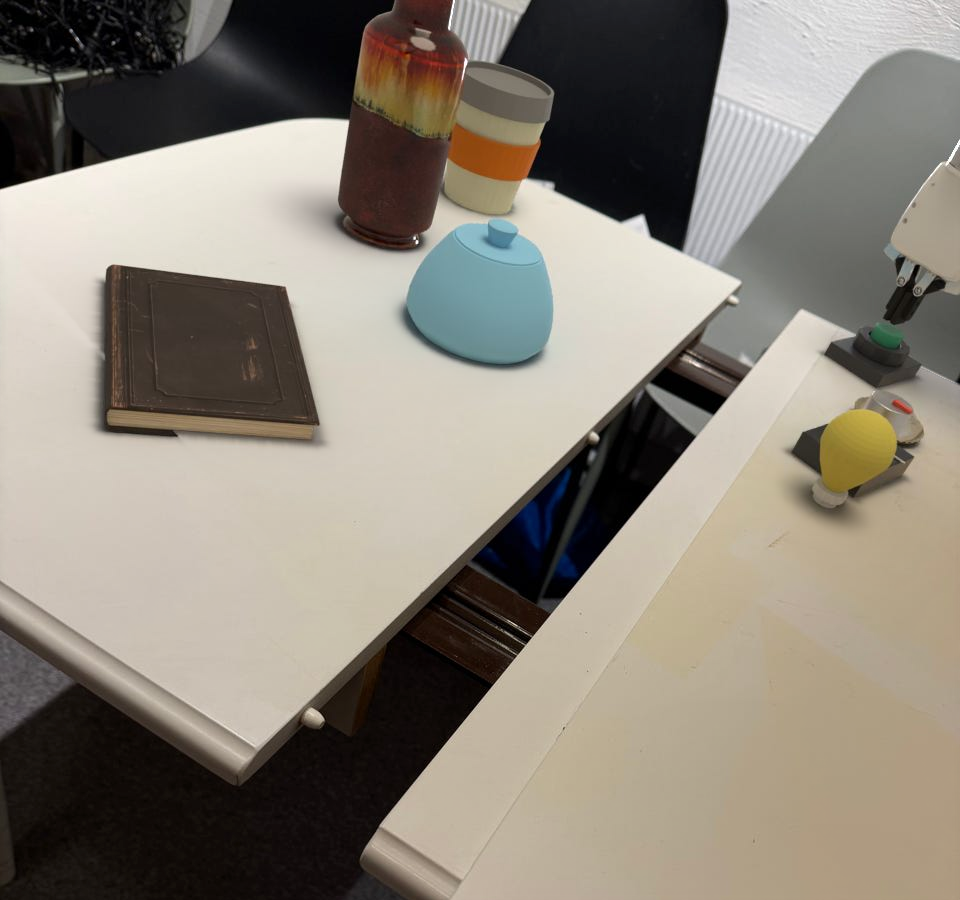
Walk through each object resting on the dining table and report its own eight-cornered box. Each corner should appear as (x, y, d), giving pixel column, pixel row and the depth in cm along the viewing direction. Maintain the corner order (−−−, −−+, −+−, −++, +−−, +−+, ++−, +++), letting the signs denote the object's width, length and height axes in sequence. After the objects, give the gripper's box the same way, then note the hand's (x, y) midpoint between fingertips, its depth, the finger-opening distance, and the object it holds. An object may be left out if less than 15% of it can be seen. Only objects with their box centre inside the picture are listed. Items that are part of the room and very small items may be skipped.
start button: (878, 333, 121) (885, 320, 120) (902, 348, 120) (909, 335, 118) (864, 337, 119) (871, 323, 118) (887, 352, 117) (895, 338, 116)
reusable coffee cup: (424, 174, 131) (449, 51, 121) (511, 192, 134) (543, 74, 124) (437, 212, 122) (466, 83, 112) (531, 231, 126) (567, 107, 116)
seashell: (839, 441, 109) (913, 459, 106) (846, 417, 106) (921, 435, 103) (860, 405, 114) (930, 422, 111) (866, 382, 111) (938, 399, 108)
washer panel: (842, 434, 106) (857, 409, 104) (907, 479, 102) (924, 454, 100) (786, 454, 99) (801, 428, 97) (853, 502, 95) (870, 476, 93)
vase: (340, 205, 116) (381, -53, 98) (430, 230, 117) (486, -19, 100) (326, 240, 108) (368, -34, 90) (423, 266, 109) (482, 2, 92)
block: (862, 347, 126) (878, 319, 124) (912, 379, 123) (930, 351, 120) (822, 357, 120) (838, 328, 118) (874, 391, 117) (891, 361, 114)
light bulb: (863, 532, 92) (922, 443, 85) (799, 517, 90) (853, 426, 84) (843, 491, 97) (897, 404, 90) (782, 477, 95) (832, 388, 89)
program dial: (841, 431, 99) (865, 390, 96) (863, 424, 102) (888, 384, 99) (875, 455, 97) (901, 414, 94) (897, 448, 100) (923, 408, 97)
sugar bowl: (571, 363, 101) (609, 256, 94) (461, 381, 92) (493, 265, 85) (484, 293, 108) (513, 188, 100) (374, 304, 99) (396, 190, 92)
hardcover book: (283, 308, 94) (285, 286, 92) (315, 446, 79) (319, 422, 77) (105, 287, 88) (105, 262, 87) (104, 431, 73) (104, 404, 71)
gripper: (1059, 195, 104) (958, 349, 116) (943, 137, 111) (859, 288, 123) (1032, 197, 100) (930, 356, 112) (913, 136, 106) (829, 293, 118)
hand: (893, 320), depth 117 cm, fingers closed
